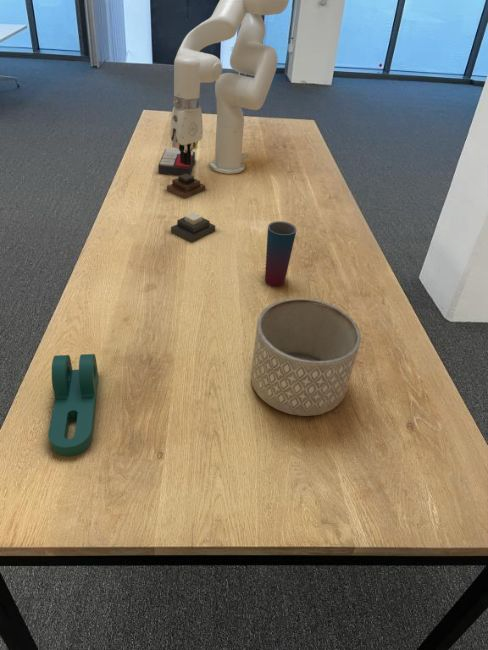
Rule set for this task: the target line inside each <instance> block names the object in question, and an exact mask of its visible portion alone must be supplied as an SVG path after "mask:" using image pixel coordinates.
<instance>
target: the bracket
mask: <svg viewBox="0 0 488 650" xmlns="http://www.w3.org/2000/svg"><path fill="white" fill-rule="evenodd" d="M72 364H73V363H72V359H71V356H70V355H69V354H62V355H61V354H60V355H54V356H53V357H52V362H51V384H52V390H53V395H54V401H53V405H52V406H53V407H52V412H51V418H50V423H49V428H48V433H47V434H48V440H49V444H50V447H51V450H52V451H53V452H54V453H55V454H57V455H59V456H62V457H72V456H73V457H74V456H76V455H79V454H81V453H84V451H86V450H87V449H88V448H89V447H90V446H91V445H92V442H93V439H94V429H95V428H94V427H95V419H96V407H97V397H98V389H99V388H98V387H99V371H98V362H97V357H96V354H95V353H84V354H83V353H82V354H80V355H79V359H78V369H73V365H72ZM72 420H76V424H75V431H74V436H73V437H72V438H68V434H69V428H70V422H71V421H72Z"/></svg>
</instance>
